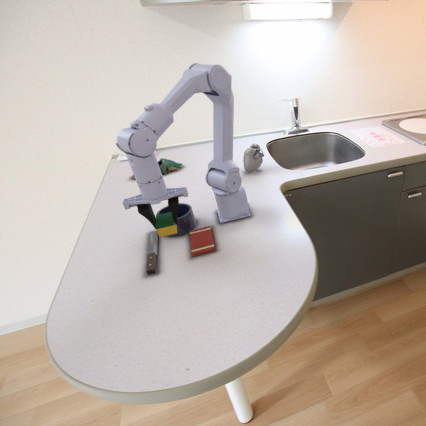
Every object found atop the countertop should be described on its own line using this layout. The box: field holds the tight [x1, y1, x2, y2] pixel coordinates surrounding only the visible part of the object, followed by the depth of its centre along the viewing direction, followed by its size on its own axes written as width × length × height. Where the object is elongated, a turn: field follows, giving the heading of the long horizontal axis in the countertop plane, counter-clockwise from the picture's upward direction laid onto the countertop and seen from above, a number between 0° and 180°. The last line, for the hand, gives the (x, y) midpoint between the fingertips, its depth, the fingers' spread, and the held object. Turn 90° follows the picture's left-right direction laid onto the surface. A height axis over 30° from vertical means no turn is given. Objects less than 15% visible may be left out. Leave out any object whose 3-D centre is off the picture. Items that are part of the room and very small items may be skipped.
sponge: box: [155, 212, 177, 238], centre depth 82 cm, size 4×6×3 cm
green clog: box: [131, 157, 184, 180], centre depth 130 cm, size 9×20×5 cm, turn 114°
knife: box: [145, 230, 159, 276], centre depth 85 cm, size 2×20×2 cm, turn 23°
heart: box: [242, 143, 265, 174], centre depth 126 cm, size 10×10×12 cm
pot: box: [155, 202, 197, 237], centre depth 94 cm, size 10×10×6 cm
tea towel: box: [189, 225, 216, 258], centre depth 89 cm, size 6×12×1 cm, turn 23°
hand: (166, 224), depth 82 cm, fingers closed on sponge, 4 cm apart
